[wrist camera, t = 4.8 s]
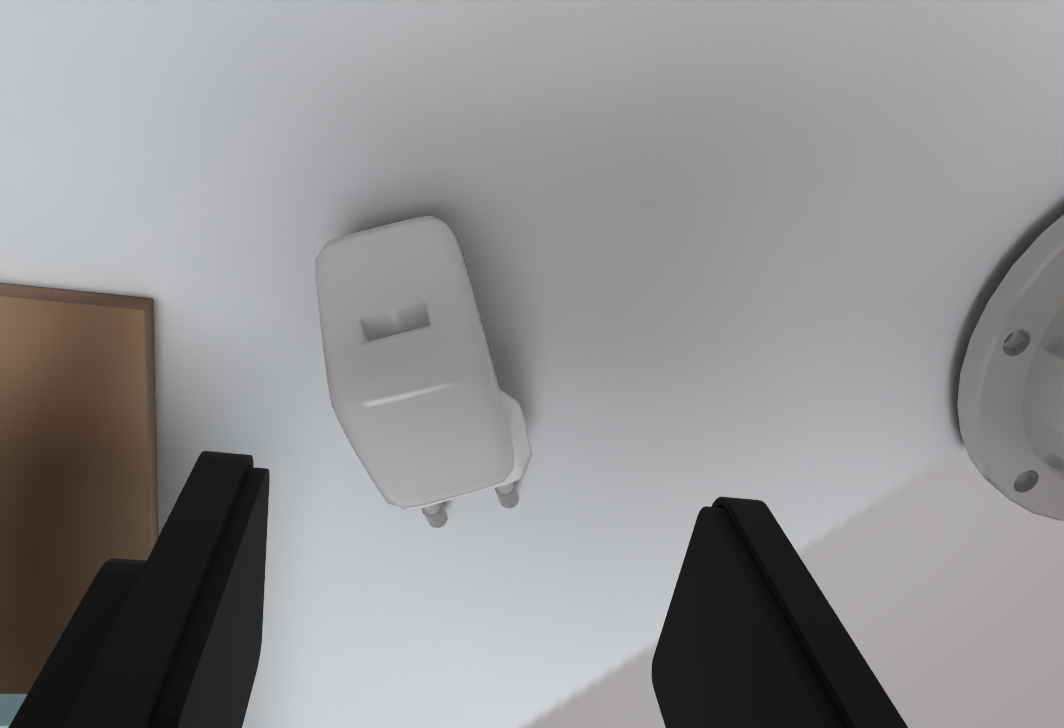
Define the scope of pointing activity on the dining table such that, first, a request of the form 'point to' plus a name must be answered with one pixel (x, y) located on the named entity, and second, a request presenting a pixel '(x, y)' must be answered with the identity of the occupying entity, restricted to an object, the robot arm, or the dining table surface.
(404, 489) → the power adapter
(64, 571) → the stand
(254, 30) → the dining table surface
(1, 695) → the flap
